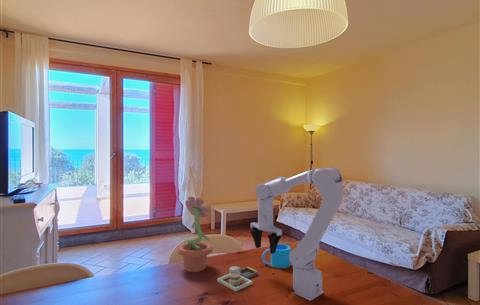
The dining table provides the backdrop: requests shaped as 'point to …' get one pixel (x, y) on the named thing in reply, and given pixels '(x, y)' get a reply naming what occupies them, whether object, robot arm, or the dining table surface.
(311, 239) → the robot arm
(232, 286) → the parts tray
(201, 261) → the decorative flower
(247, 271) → the grey square holder
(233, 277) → the fuse
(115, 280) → the dining table surface
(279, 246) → the mug
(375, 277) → the dining table surface
